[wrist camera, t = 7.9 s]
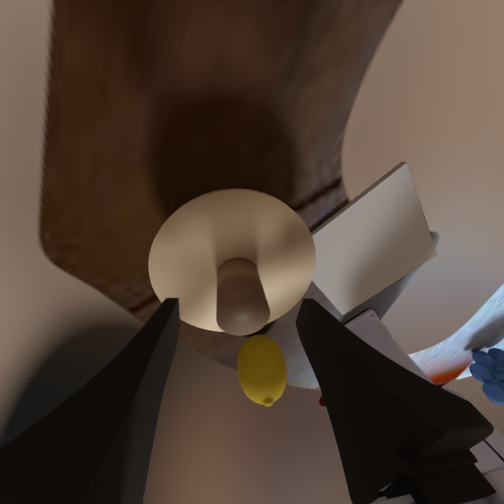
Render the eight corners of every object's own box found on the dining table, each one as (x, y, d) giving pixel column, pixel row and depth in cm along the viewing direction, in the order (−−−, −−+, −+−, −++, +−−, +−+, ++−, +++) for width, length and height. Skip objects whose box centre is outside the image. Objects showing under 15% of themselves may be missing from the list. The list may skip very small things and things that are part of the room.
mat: (432, 252, 23) (437, 254, 23) (340, 312, 26) (342, 315, 25) (401, 162, 17) (407, 162, 17) (287, 251, 20) (288, 254, 20)
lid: (337, 267, 16) (378, 309, 12) (233, 342, 19) (237, 398, 15) (243, 143, 11) (258, 139, 7) (114, 271, 13) (67, 327, 9)
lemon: (238, 320, 24) (246, 391, 17) (280, 321, 25) (304, 388, 18) (231, 349, 26) (236, 422, 19) (270, 349, 27) (287, 417, 21)
